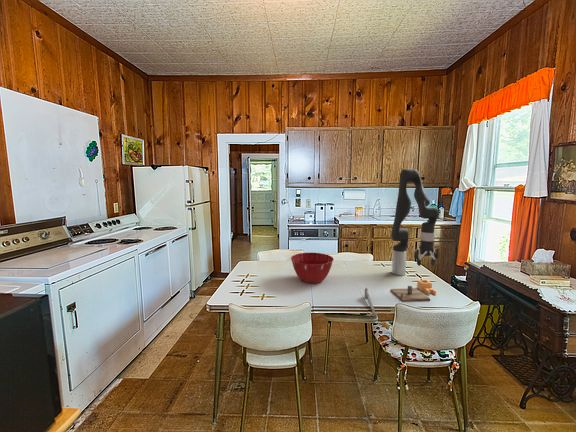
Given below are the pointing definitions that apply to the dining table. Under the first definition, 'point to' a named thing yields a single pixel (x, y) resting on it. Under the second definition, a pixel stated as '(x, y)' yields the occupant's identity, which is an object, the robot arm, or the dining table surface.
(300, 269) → the mixing bowl
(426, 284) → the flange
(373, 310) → the caliper
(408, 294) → the post board
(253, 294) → the dining table surface
